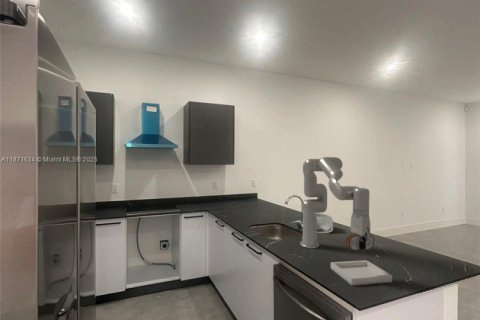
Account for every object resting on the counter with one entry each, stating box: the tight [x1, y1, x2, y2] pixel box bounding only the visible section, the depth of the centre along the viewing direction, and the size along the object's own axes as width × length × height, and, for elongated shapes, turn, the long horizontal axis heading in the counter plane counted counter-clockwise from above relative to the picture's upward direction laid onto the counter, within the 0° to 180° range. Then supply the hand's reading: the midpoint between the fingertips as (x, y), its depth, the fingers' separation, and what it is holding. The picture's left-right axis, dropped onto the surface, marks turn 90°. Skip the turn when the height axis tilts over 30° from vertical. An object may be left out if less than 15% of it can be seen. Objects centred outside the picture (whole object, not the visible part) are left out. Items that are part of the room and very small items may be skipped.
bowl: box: [314, 213, 334, 234], centre depth 205 cm, size 20×19×12 cm
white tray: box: [330, 259, 393, 286], centre depth 124 cm, size 18×22×3 cm
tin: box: [345, 232, 375, 251], centre depth 124 cm, size 15×3×8 cm, turn 100°
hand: (360, 247), depth 124 cm, fingers closed on tin, 2 cm apart
